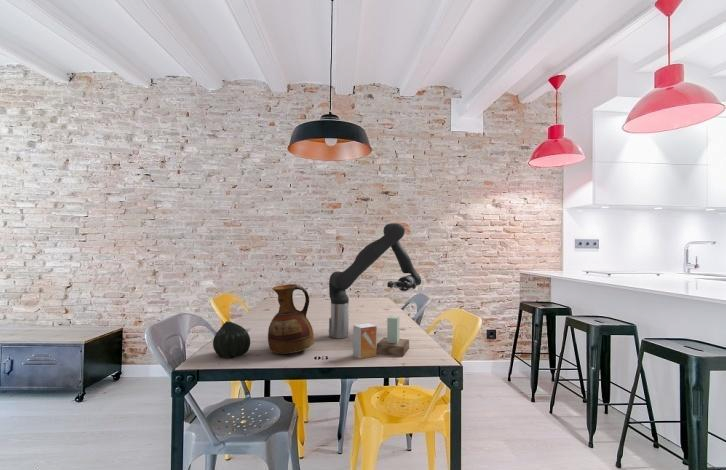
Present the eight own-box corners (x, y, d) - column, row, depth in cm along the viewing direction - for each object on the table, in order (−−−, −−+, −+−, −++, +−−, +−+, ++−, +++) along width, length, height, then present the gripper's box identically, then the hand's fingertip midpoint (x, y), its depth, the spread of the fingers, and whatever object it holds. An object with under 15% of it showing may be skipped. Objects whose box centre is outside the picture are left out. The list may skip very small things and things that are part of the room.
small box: (360, 359, 153) (360, 328, 154) (352, 355, 159) (352, 325, 159) (376, 356, 158) (376, 325, 158) (368, 352, 163) (368, 322, 163)
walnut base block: (376, 353, 162) (376, 344, 162) (384, 345, 173) (384, 337, 173) (403, 356, 158) (403, 346, 158) (409, 348, 169) (409, 339, 169)
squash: (254, 345, 153) (248, 314, 161) (216, 352, 145) (212, 319, 154) (249, 361, 162) (243, 330, 171) (213, 368, 155) (209, 336, 163)
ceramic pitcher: (264, 347, 169) (265, 282, 170) (307, 342, 177) (308, 280, 178) (271, 360, 151) (272, 287, 152) (319, 354, 159) (319, 285, 160)
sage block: (387, 342, 164) (387, 318, 164) (389, 340, 168) (389, 316, 169) (397, 343, 163) (397, 318, 163) (399, 340, 167) (399, 316, 167)
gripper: (393, 275, 200) (385, 278, 185) (419, 277, 195) (413, 279, 180) (392, 289, 200) (384, 293, 185) (418, 291, 195) (412, 295, 180)
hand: (398, 286), depth 182 cm, fingers open, 8 cm apart
